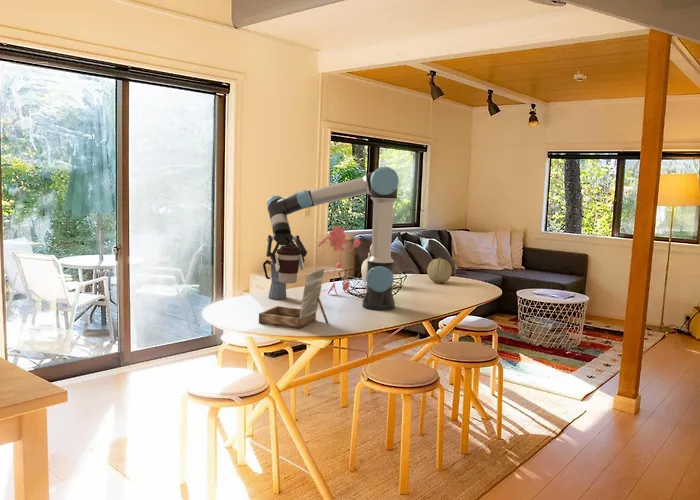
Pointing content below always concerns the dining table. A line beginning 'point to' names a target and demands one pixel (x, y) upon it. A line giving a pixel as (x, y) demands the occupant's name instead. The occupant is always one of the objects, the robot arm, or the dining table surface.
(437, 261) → the cantaloupe
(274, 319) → the cold frame
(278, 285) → the moka pot
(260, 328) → the dining table surface
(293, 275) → the coffee cup
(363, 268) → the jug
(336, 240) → the figurine
